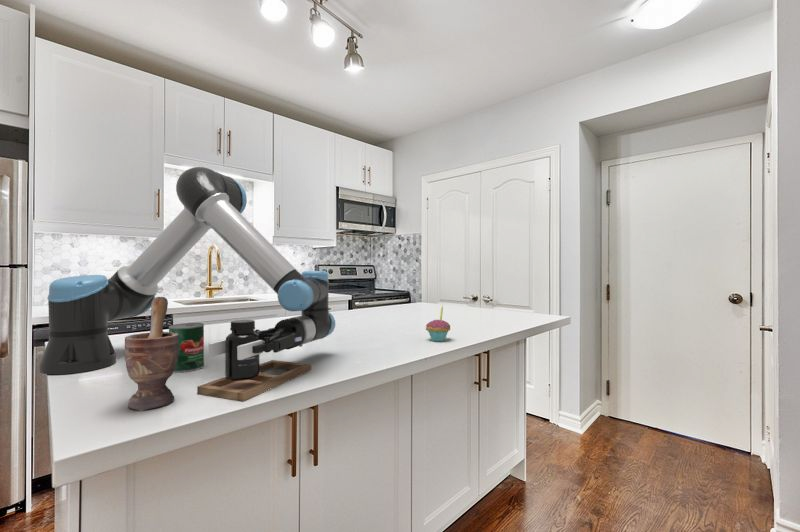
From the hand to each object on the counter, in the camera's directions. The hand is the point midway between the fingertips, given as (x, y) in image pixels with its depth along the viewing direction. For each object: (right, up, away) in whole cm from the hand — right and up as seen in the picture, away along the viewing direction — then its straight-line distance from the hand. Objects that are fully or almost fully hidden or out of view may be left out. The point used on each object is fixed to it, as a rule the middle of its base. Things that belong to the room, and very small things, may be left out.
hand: (224, 351), depth 77 cm
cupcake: (+49, -9, +56) cm, 75 cm away
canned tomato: (-19, -9, +21) cm, 29 cm away
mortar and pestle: (-13, -9, -3) cm, 16 cm away
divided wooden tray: (+4, -9, +10) cm, 14 cm away
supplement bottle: (+2, -7, +5) cm, 8 cm away
